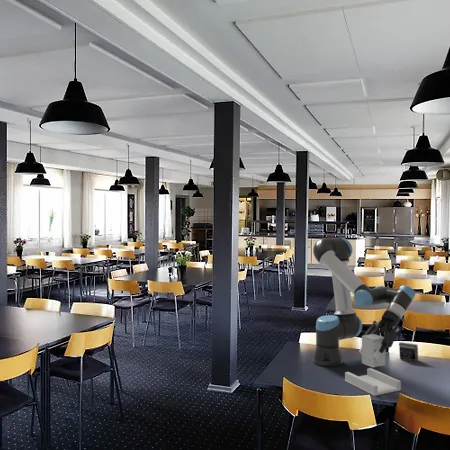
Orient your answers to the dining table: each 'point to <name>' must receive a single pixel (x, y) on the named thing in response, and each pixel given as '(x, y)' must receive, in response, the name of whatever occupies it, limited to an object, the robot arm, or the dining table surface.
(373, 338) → the supplement box
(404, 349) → the electrical switch
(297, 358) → the dining table surface
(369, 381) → the tray
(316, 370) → the dining table surface
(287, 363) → the dining table surface
